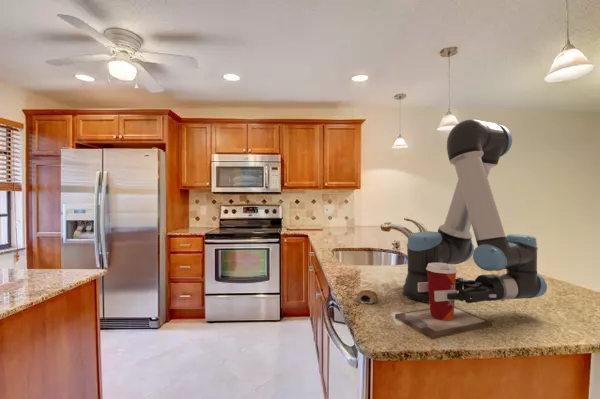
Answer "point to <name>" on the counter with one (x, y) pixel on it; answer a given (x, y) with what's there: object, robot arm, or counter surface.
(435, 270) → the coffee cup
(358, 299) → the pastry
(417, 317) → the brown framed picture
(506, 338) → the counter surface
